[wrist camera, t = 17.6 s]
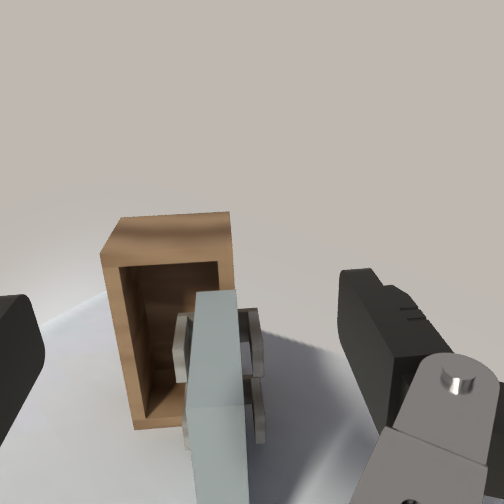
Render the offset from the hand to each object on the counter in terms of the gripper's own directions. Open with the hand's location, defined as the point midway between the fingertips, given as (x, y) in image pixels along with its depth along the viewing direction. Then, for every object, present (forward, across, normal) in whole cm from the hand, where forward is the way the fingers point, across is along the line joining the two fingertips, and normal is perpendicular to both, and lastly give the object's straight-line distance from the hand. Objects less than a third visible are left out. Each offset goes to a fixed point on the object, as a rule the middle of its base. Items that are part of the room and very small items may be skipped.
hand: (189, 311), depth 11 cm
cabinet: (+22, +3, +26) cm, 34 cm away
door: (+13, 0, +26) cm, 28 cm away
